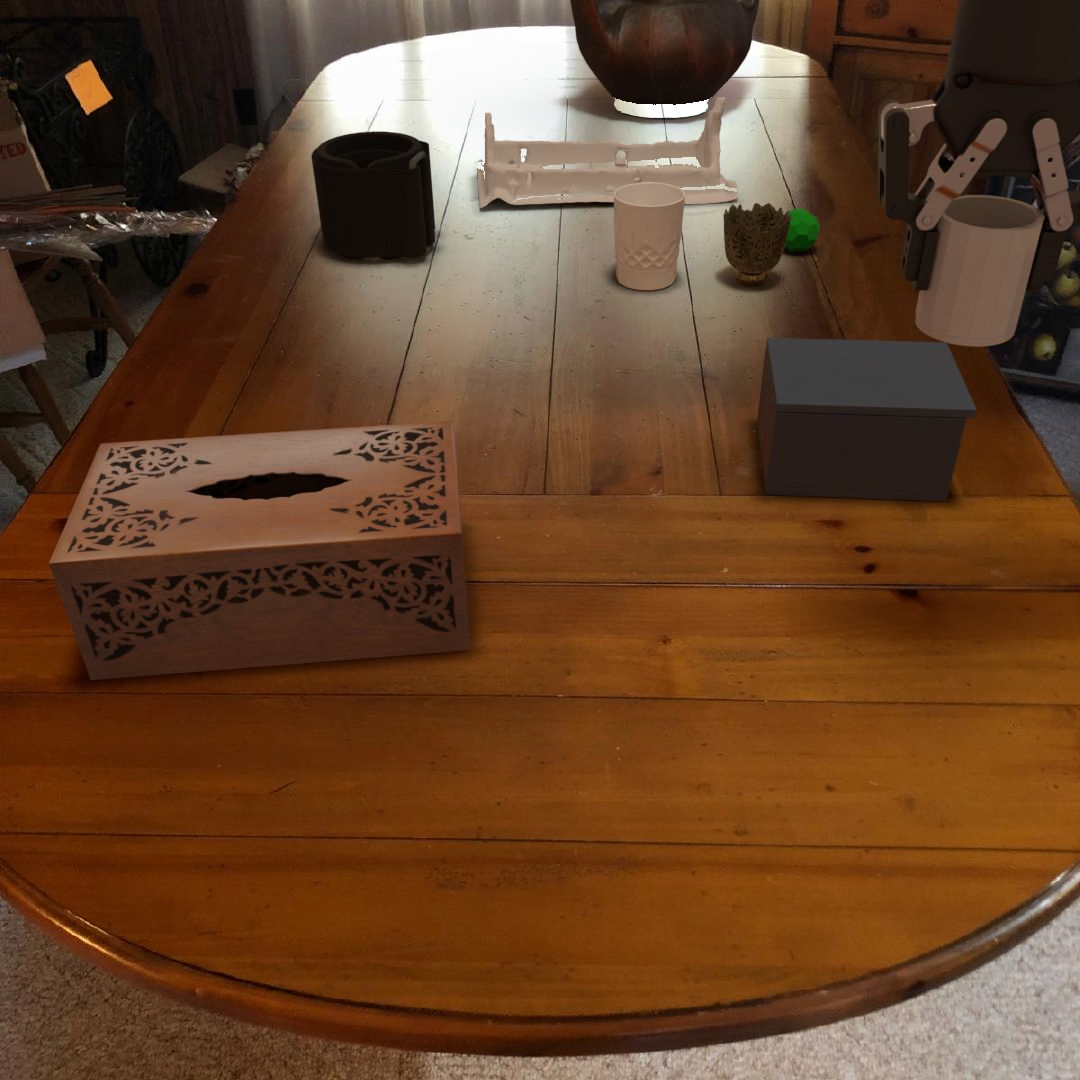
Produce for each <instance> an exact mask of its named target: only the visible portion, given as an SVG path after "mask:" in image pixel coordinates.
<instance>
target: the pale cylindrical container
mask: <svg viewBox="0 0 1080 1080" xmlns="http://www.w3.org/2000/svg"><path fill="white" fill-rule="evenodd" d="M1044 219H1045V216H1044V215H1043V214H1042V212H1041V211H1040V210H1039V209H1038V207H1036V206H1034V205H1031V204H1029V203H1028V202H1024V201H1021V200H1018V199H1013V198H1011V197H1004V196H995V195H989V194H988V195H986V194H966V195H960V196H959V197H957V198H955V199H954V200H953V201H952V202H951V204H950V205H949V207H948V208H947V210H946V211H945V213H944V214H943V215H942V217H941V218H940V220H939V221H938V223H937V224H936V225H935V226H936V228H937V229H938V231H939V236H938V241H937V246H936V251H935V256H934V261H933V266H932V271H931V276H930V281H929V286H928V289H927V290H926V291H918V297H917V302H916V307H915V311H914V312H915V313H914V314H915V316H914V323H915V326H916V327H917V328H918V329H919V331H921V333H923V334H925V335H926V336H927V337H930V338H931V339H935V340H937V341H939V342H946V343H947V344H951V345H954V346H955V345H957V346H962V347H976V348H977V347H980V348H981V347H990V346H997V345H1001V344H1003V343H1006V342H1008V341H1009V340H1012V338H1013V336H1015V334H1016V331H1017V326H1018V324H1019V320H1020V317H1021V313H1022V308H1023V304H1024V301H1025V296H1026V294H1027V293H1026V292H1027V291H1026V289H1027V285H1028V281H1029V277H1030V273H1031V269H1032V266H1033V262H1034V258H1035V254H1036V250H1037V246H1038V242H1039V238H1040V234H1041V230H1042V227H1043V223H1044Z"/></svg>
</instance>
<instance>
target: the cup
mask: <svg viewBox="0 0 1080 1080" xmlns="http://www.w3.org/2000/svg"><path fill="white" fill-rule="evenodd" d="M789 211H790V210H786V212H785V213H784V211H783V208H782V206H780V207H779V208H778V210H776V207H774V206H773V204H771V203H769V202H768V203H765V204H764V205H761V204H760V203H757V202H755V203H754V204H753V206H752V209H743V206H742V204H741V203H739V204H738V206H736V205H735V204H731V205H730V207H729V208H728V209H727V208H725V209H724V213H723V241H724V253H725V257H726V260H727V263H729V265H730V266H731V268H733V269H735V272H734V276H735V277H734V278H735V279H736V281H737V282H738V283H739V284H741V285H743V286H748V287H757V286H761V285H763V284H765V283H766V281H767V279H768V277H769V274H768V272H770V271H771V270H773V269H775V267H776V266H777V265H778V264H779V263H780V260H781V259H782V256H783V254H784V250H785V248H786V247H785V244H786V239H787V235H788V231H789V227H790V223H791V219H792V218H791V214H790V215H789Z"/></svg>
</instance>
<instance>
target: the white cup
mask: <svg viewBox="0 0 1080 1080" xmlns="http://www.w3.org/2000/svg"><path fill="white" fill-rule="evenodd" d="M684 203H685V192H684V191H683V190H682V189H680V188H678V187H676V186H673V185H670V184H665V183H657V182H640V183H632V184H628V185H624V186H622V187H619V188H618V189H616V190H615V192H614V202H613V226H614V227H613V229H614V230H613V232H614V255H615V259H616V261H615V269H616V270H615V271H616V272H615V273H616V274H615V276H616V280H617V281H618V284H620V285H621V286H623V287H624V288H628V289H633V290H637V291H656V290H662V289H663V290H664V289H665V288H668V287H670V286H672V285H673V283H674V282H675V280H676V277H677V266H678V259H679V254H680V246H681V240H682V232H683V231H682V230H683V221H684V212H685V211H684V210H685V204H684Z"/></svg>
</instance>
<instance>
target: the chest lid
mask: <svg viewBox="0 0 1080 1080" xmlns="http://www.w3.org/2000/svg"><path fill="white" fill-rule="evenodd" d="M766 348H767V355H768V361H769V368H770V374H771V381H772V387H773V394H774V400H775V407H776V411H777V412H801V413H832V414H863V415H894V416H925V417H956V418H966V419H975V418H976V414H977V411H978V409H977V407H976V404H975V402H974V400H973V398H972V396H971V394H970V391H969V389H968V387H967V385H966V382H965V380H964V378H963V376H962V374H961V371H960V369H959V366H958V364H957V362H956V360H955V358H954V356H953V353H952V351H951V349H950V347H949V343H946V342H943V341H904V340H903V341H902V340H869V339H867V340H865V339H833V338H832V339H829V338H828V339H827V338H796V337H795V338H792V337H790V338H789V337H767V338H766V342H765V349H766Z"/></svg>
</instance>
